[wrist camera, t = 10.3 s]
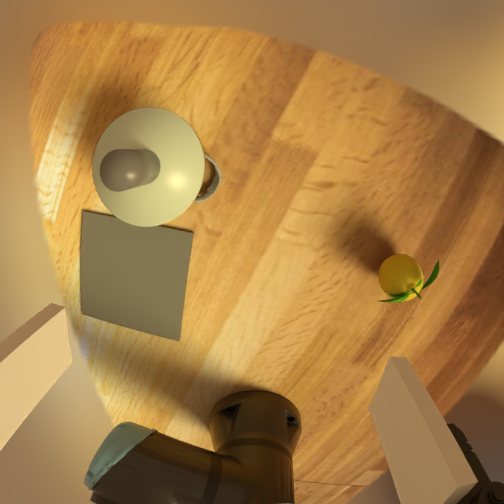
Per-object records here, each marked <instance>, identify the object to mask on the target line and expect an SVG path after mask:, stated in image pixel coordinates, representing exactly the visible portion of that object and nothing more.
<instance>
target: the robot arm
mask: <svg viewBox="0 0 504 504" xmlns="http://www.w3.org/2000/svg"><path fill="white" fill-rule="evenodd" d="M72 362H73V359H72V353H71V346H70V340H69V334H68V325H67V317H66V308H65V307H63V306H59V305H56V304H52V303H51V304H50V305H48V306H47V307H46V308H44V309H43V310H42V311H41V312H39V313H38V314H37V315H36V316H34V317H33V318H32V319H30V320H29V321H28V322H26V323H25V324H24V325H22V326H21V327H20V328H19V329H17V330H16V331H15V332H14V333H13V334H11V335H10V336H9V337H7V338H6V339H5V340H4V341H3V342H1V343H0V450H1V449H2V448H3V446H4V445H5V444H6V443H7V441H8V440H9V438H10V437H11V436H12V435H13V433H14V432H15V431H16V430H17V428H18V427H19V426H20V425H21V423H22V422H23V421H24V419H25V418H26V417H27V416H28V415H29V413H30V412H31V411H32V410H33V408H34V407H35V406H36V405H37V404H38V402H39V401H40V400H41V399H42V397H43V396H44V395H45V394H46V393H47V391H48V390H49V389H50V388H51V387H52V385H53V384H54V383H55V382H56V381H57V379H58V378H59V377H60V376H61V375H62V374H63V372H64V371H65V370H66V369H67V368H68V367H69V366H70V364H71V363H72ZM369 411H370V414H371V417H372V419H373V422H374V425H375V428H376V431H377V433H378V436H379V439H380V442H381V445H382V448H383V451H384V454H385V457H386V460H387V463H388V466H389V469H390V471H391V474H392V478H393V481H394V484H395V487H396V490H397V493H398V496H399V500H400V503H401V504H504V484H502V483H500V482H495V481H494V482H491V481H490V479H489V478H488V476H487V474H486V472H485V470H484V468H483V467H482V465H481V463H480V461H479V459H478V458H477V456H476V454H475V453H474V452H473V449H472V447H471V446H470V444H468V440H467V439H466V437H465V435H464V434H463V432H462V431H461V430H460V429H459V428H457V427H456V426H455V425H454V424H453V423H452V424H446V422H445V421H444V419H443V417H442V415H441V414H440V412H439V410H438V409H437V407H436V405H435V403H434V402H433V400H432V398H431V397H430V395H429V394H428V392H427V390H426V389H425V387H424V385H423V384H422V382H421V380H420V379H419V377H418V376H417V374H416V372H415V371H414V369H413V368H412V366H411V364H410V363H409V361H408V360H407V358H406V357H390V358H389V360H388V363H387V365H386V368H385V370H384V373H383V375H382V378H381V380H380V383H379V385H378V387H377V390H376V392H375V394H374V397H373V399H372V401H371V404H370V406H369ZM301 428H302V427H301V417H300V413H299V411H298V409H297V408H296V407H295V406H294V405H293V404H292V403H291V402H290V401H289V400H287V399H285V398H283V397H281V396H279V395H276V394H273V393H269V392H263V391H245V392H239V393H235V394H232V395H230V396H227V397H225V398H224V399H222V400H221V401H220V402H218V403H217V404H216V406H215V407H214V408H213V410H212V413H211V418H210V422H209V430H210V434H211V439H212V443H213V447H214V451H215V452H213V451H210V450H207V449H203V448H200V447H197V446H194V445H192V444H189V443H186V442H183V441H180V440H178V439H175V438H172V437H170V436H167V435H165V434H162V433H160V432H158V430H156V429H149V428H146V427H144V426H141V425H138V424H136V423H133V422H123V423H120V424H119V425H117V426H116V427H115V428H114V429H113V430H112V431H111V432H110V433H109V435H108V436H107V437H106V439H105V440H104V441H103V443H102V445H101V446H100V448H99V449H98V451H97V453H96V454H95V456H94V458H93V460H92V462H91V464H90V466H89V469H88V472H87V473H86V475H85V479H84V483H85V485H86V486H87V487H88V488H89V490H92V491H93V494H92V497H91V499H90V504H295V498H294V479H293V462H292V456H293V454H294V451H295V448H296V446H297V443H298V440H299V438H300V435H301Z"/></svg>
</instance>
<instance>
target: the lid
mask: <svg viewBox="0 0 504 504" xmlns="http://www.w3.org/2000/svg"><path fill="white" fill-rule="evenodd" d="M92 169H93V179H94V184H95V188H96V191H97V193H98V195H99V197H100V199H101V201H102V203H103V204H104V205H105V207H106V208H107V209H108V210H109V211H110V212H111V213H112V214H113V215H114V216H116V217H117V218H119V219H120V220H122V221H124V222H126V223H129V224H131V225H135V226H142V227H152V226H158V225H162V224H165V223H167V222H169V221H171V220H173V219H175V218H176V217H178V216H179V215H181V214H182V213H183V212H184V211H185V210H187V209H188V208H189V206H190V205H191V204H192V203H193V201H194V200H195V199H196V197H197V195H198V193H199V191H200V189H201V186H202V184H203V180H204V175H205V155H204V150H203V146H202V143H201V141H200V139H199V137H198V135H197V133H196V132H195V130H194V129H193V128H192V126H191V125H190V124H189V123H188V122H187V121H186V120H184V119H183V118H182V117H180V116H179V115H177V114H175V113H173V112H170V111H168V110H165V109H161V108H155V107H145V108H138V109H135V110H131V111H129V112H127V113H125V114H123V115H121V116H120V117H118V118H117V119H116V120H114V121H113V122H112V123H111V124H110V125H109V126H108V127H107V129H106V130H105V131H104V133H103V134H102V136H101V138H100V139H99V142H98V144H97V146H96V149H95V153H94V158H93V168H92Z"/></svg>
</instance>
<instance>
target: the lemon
mask: <svg viewBox="0 0 504 504" xmlns="http://www.w3.org/2000/svg"><path fill="white" fill-rule="evenodd" d="M438 273H439V260H438V262H437V263H436V265H435V268H434V270H433V272H432V274H431V276H430V278H429V279H428V281H427V282H426V283H425V285H424V286H423V273H422V270H421V267H420V266H419V264H418V263H417V262H416V261H415V260H414V259H413V258H412V257H410V256H408V255H404V254H397V255H393V256H391V257H388V258H387V259H386V260H384V261H383V263H382V264H381V266H380V270H379V283H380V285H381V288H382V289H383V291H384V292H385V293H386V294H387V295H388V296H389V297H391V298H393V299H389V300H381V301H380V302H394V303H395V302H401V301H407V300H410V299H412V298H414V297H416V296H418V297H419V298H420V299H421V296H420V295H419V294H420V292H421V290H422V289H424V288H425V287H427V286H429V285H430V284H431V283H432V282H433V281H434V280H435V279H436V278H437V276H438ZM422 286H423V287H422Z"/></svg>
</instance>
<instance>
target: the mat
mask: <svg viewBox="0 0 504 504" xmlns="http://www.w3.org/2000/svg"><path fill="white" fill-rule="evenodd" d="M193 234H194V232H189V231H184V230H180V229H175V228H170V227H165V226H160V225H158V226H152V227H142V226H135V225H131V224H129V223H126V222H124V221H122V220H120V219H119V218H117V217H114V216H109V215H104V214H99V213H94V212H89V211H83V220H82V242H81V302H82V314H84V315H87V316H90V317H94V318H97V319H100V320H103V321H107V322H110V323H113V324H117V325H120V326H124V327H127V328H131V329H134V330H138V331H142V332H145V333H149V334H153V335H157V336H161V337H164V338H168V339H172V340H177V341H179V340H180V333H181V324H182V316H183V307H184V299H185V291H186V283H187V276H188V269H189V262H190V255H191V248H192V241H193Z"/></svg>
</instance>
